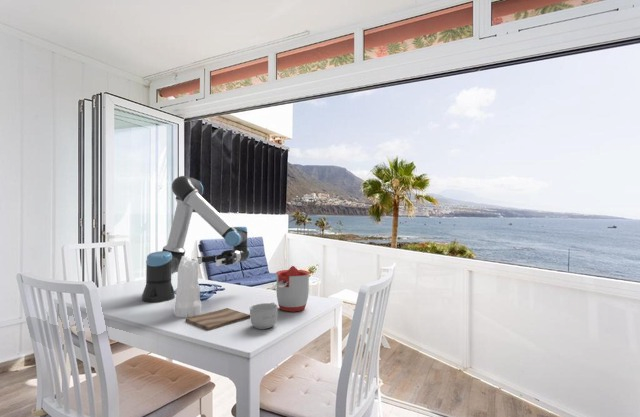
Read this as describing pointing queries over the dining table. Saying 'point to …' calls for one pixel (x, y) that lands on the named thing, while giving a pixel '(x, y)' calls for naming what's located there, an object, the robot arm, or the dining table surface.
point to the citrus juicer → (292, 289)
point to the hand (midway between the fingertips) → (204, 262)
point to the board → (217, 318)
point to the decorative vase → (187, 289)
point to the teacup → (263, 315)
